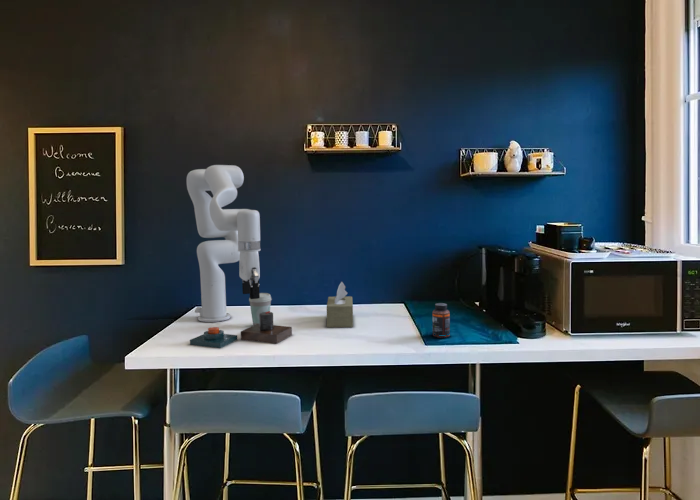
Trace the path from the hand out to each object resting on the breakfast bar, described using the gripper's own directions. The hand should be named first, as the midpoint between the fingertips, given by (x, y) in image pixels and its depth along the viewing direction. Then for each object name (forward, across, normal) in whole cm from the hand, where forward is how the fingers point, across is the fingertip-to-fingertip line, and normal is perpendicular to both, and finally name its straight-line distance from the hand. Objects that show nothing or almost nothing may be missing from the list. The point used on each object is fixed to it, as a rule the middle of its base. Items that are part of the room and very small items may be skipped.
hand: (250, 296), depth 173 cm
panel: (+15, +1, +5) cm, 16 cm away
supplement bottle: (+15, +28, +59) cm, 67 cm away
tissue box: (+15, -8, +37) cm, 41 cm away
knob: (+12, +1, +5) cm, 13 cm away
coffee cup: (+15, -16, +8) cm, 23 cm away
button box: (+15, -2, -13) cm, 20 cm away
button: (+12, -2, -13) cm, 17 cm away
